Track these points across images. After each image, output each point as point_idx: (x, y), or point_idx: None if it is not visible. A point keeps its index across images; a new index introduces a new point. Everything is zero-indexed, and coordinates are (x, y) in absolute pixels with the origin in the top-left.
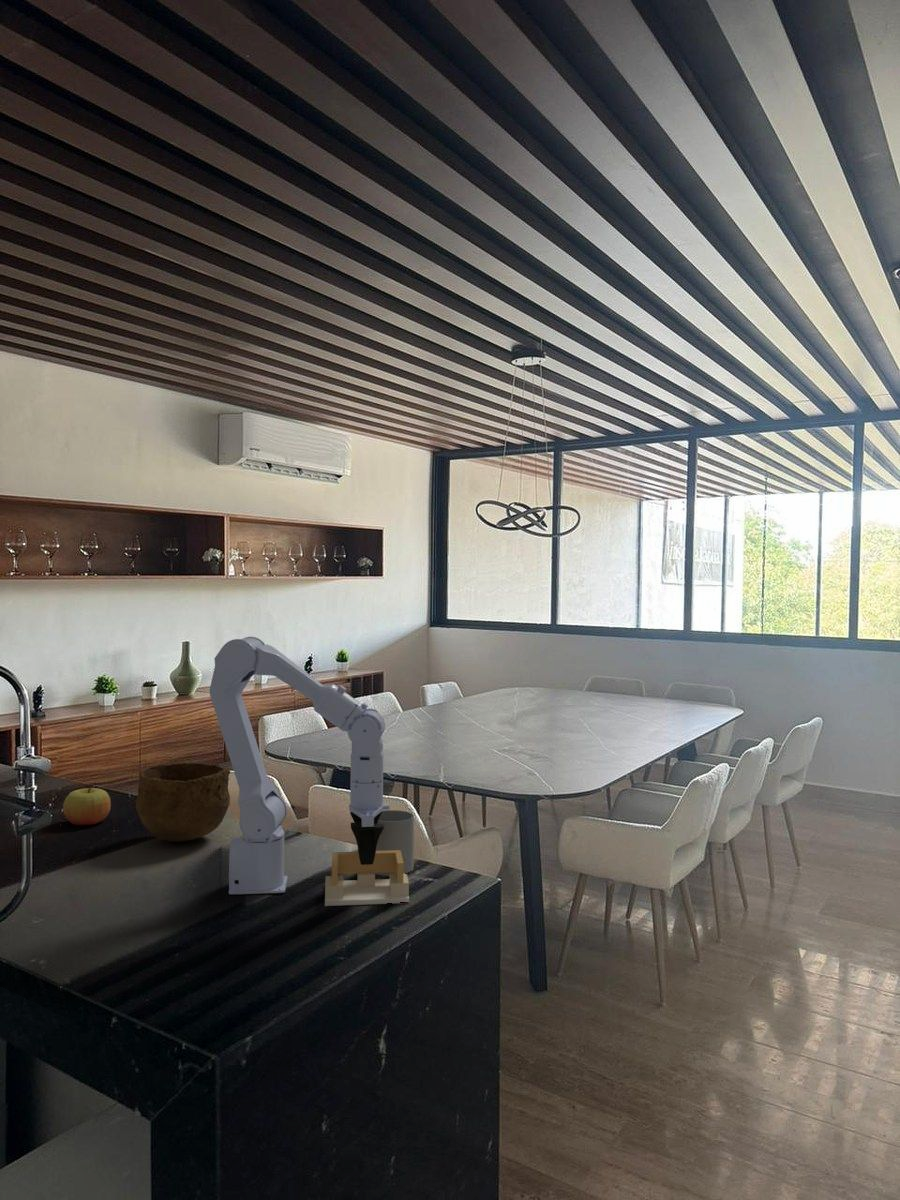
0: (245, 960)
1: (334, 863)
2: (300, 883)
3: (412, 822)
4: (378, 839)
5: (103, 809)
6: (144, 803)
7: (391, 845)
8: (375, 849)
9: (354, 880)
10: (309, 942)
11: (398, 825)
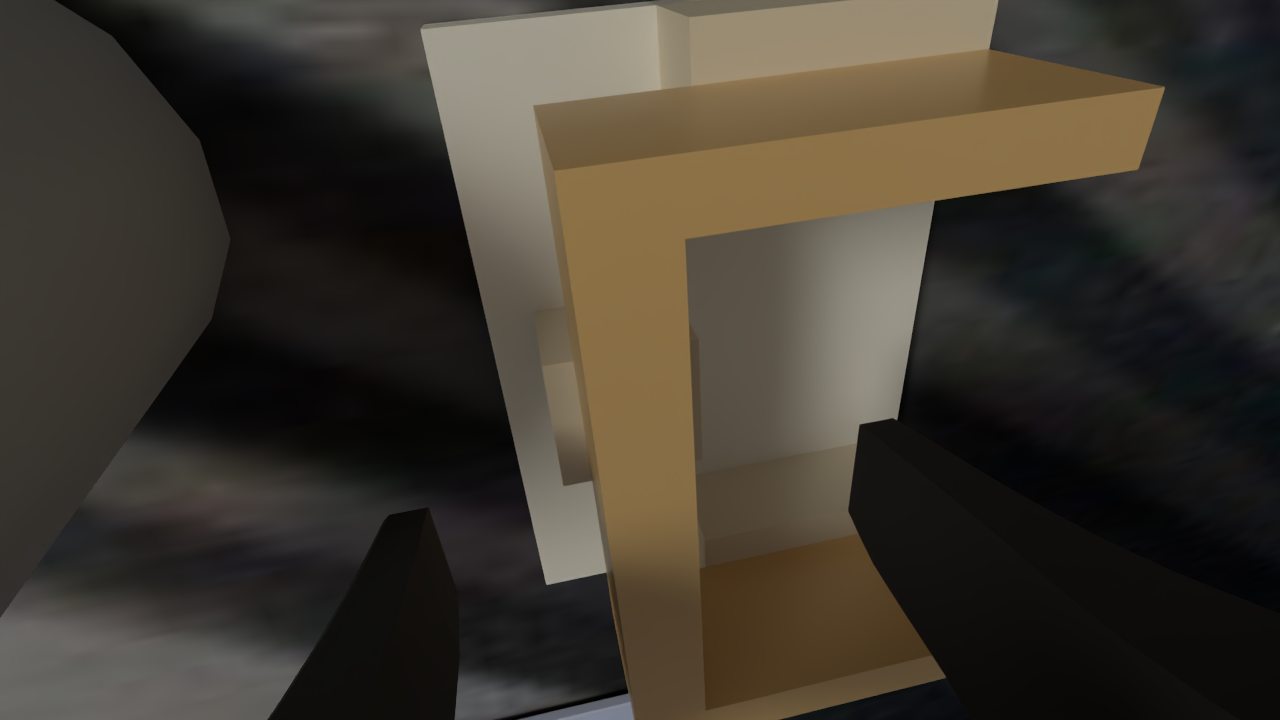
0: (1274, 584)
1: (934, 669)
2: (510, 668)
3: None
4: (1212, 587)
5: None
6: None
7: (51, 323)
8: (1041, 506)
9: (520, 446)
10: (1252, 454)
11: None
